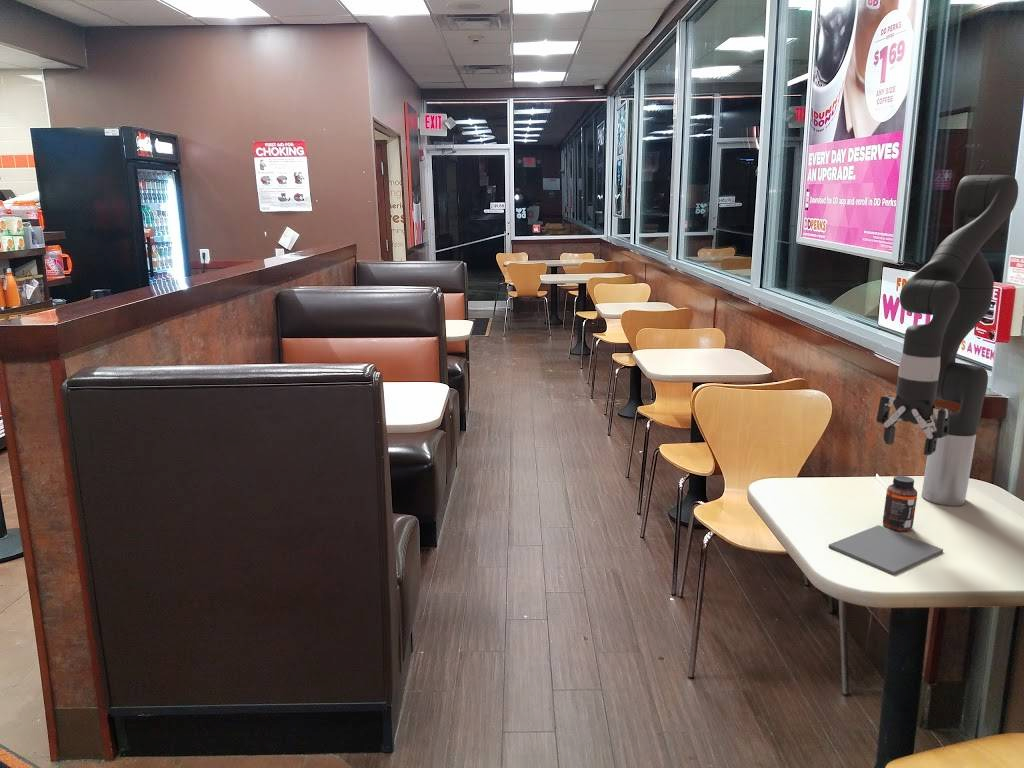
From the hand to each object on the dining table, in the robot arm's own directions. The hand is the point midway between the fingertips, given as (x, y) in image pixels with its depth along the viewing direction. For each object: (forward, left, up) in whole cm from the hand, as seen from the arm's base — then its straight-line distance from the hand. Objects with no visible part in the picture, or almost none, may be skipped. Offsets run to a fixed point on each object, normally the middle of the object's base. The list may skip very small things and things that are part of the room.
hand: (908, 449), depth 163 cm
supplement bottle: (0, 0, -18) cm, 18 cm away
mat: (+13, +5, -18) cm, 23 cm away
